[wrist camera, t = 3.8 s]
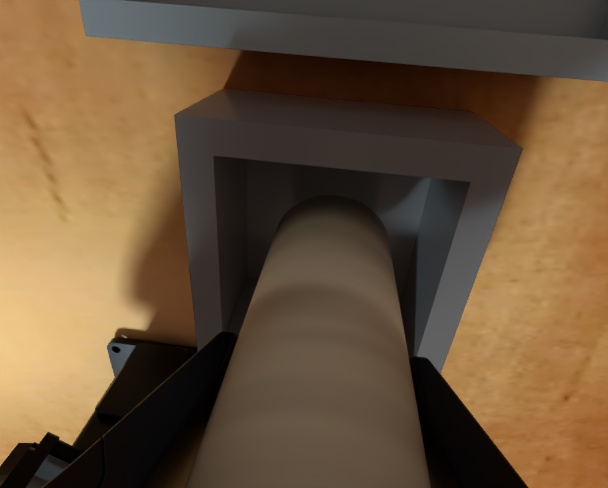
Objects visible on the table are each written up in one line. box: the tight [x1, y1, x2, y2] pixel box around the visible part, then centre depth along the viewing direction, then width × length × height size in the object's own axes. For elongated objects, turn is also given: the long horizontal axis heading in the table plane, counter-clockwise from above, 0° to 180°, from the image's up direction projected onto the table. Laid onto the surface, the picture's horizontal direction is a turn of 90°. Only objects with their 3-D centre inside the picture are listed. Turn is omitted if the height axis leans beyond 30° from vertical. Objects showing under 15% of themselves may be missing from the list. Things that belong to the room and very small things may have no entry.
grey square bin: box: [174, 89, 523, 374], centre depth 14 cm, size 9×9×4 cm
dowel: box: [185, 195, 431, 488], centre depth 9 cm, size 4×4×10 cm
